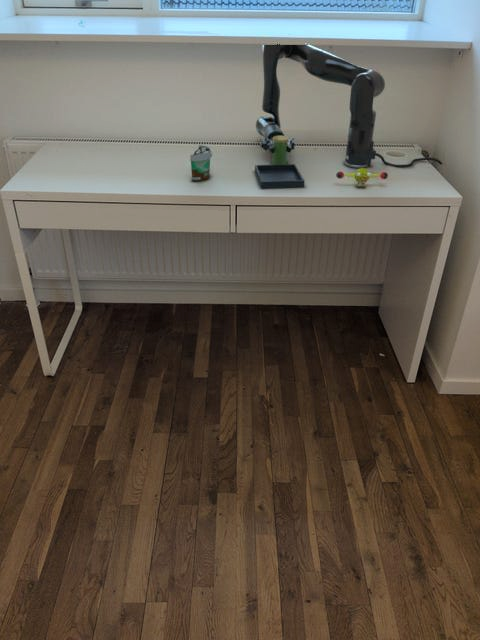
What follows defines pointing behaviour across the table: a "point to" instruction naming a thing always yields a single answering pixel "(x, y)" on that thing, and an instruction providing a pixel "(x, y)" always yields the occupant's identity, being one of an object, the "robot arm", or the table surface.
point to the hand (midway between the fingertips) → (281, 150)
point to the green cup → (280, 150)
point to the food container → (200, 164)
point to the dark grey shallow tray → (279, 176)
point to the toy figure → (362, 176)
